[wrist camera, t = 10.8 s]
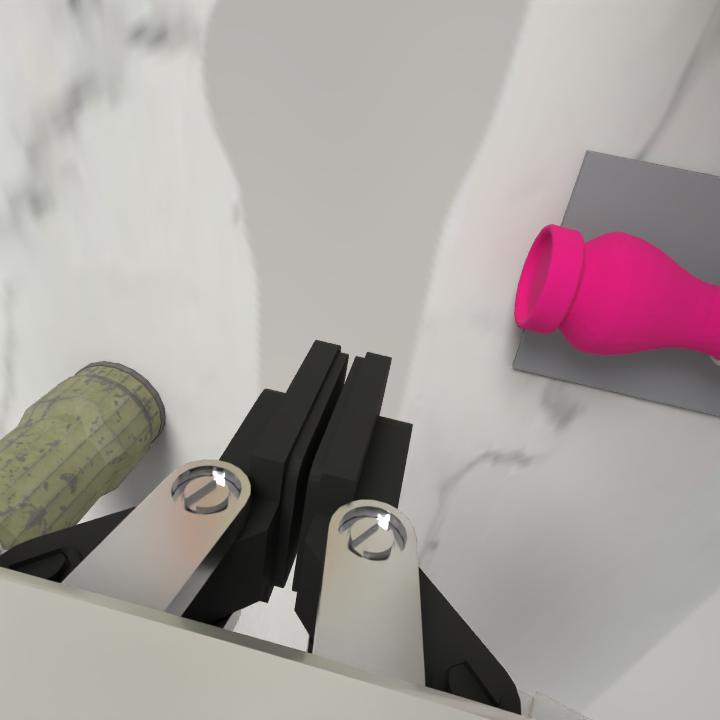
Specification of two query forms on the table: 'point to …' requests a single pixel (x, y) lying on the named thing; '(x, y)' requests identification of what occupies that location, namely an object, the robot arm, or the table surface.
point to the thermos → (74, 449)
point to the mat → (671, 235)
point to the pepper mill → (615, 295)
